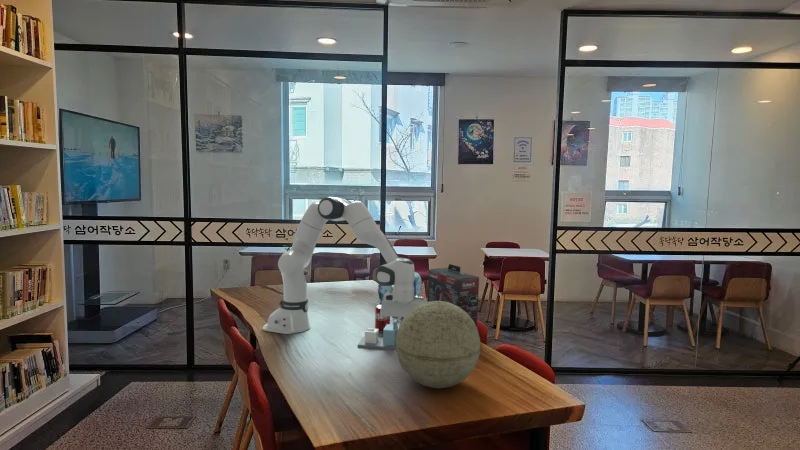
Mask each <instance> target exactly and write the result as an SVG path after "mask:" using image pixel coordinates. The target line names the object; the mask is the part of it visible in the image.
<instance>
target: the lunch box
mask: <svg viewBox="0 0 800 450" xmlns="http://www.w3.org/2000/svg"><path fill="white" fill-rule="evenodd" d="M421 277H422V276H421V275H420V274H419V273H418V272H415V280H414V296H417V297H423V296H422V291H423V290H422V289H423V288H422V287H423V286H422V278H421ZM377 287H378V288H377V295H378V299H379V302H380V303H381V304H382V302H383V300H384V299H383V297H384V294H385V293H387V292H390V291H392V287H393V286H381V285H379V284H378V286H377Z"/></svg>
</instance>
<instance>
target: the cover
mask: <svg viewBox="0 0 800 450" xmlns="http://www.w3.org/2000/svg"><path fill="white" fill-rule="evenodd" d="M398 329H399V325H398V319H397V318H396V319H394V321H393V323H392V324H391V323H390V324H387V325H386V326H385V328H384V330H383V333H382V338H383V345H393V346H394V345H395V340H396V336H397V332H398Z"/></svg>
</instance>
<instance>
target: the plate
mask: <svg viewBox="0 0 800 450" xmlns="http://www.w3.org/2000/svg"><path fill="white" fill-rule="evenodd" d="M357 348H363V349H372V350H373V349H374V350H375V349H376V350H386V351H387V350H388V351H395V350H396V340H395V345H394V346H393V345H383V337H379V336H378V341H377V343H376V344H375V343H365V335H364V336H363V337H362V338H361V339H360V341H359V342H358V343H357Z"/></svg>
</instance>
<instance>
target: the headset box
mask: <svg viewBox="0 0 800 450" xmlns="http://www.w3.org/2000/svg"><path fill="white" fill-rule="evenodd" d="M427 279H428V280H427V301H428V302H431V301H443V302H448V303H452V304H454V305H456V306H458V307H460V308H461V309H462V310H464V311H465V312H466V313H467V314H468V315H469V316H470V317H471V319H472V320H473V321H474V323H475V325H476V327H477V328H478V314H479V313H478V312H479V311H478V310H479V308H478V307H479V288H480V277H479V276H478V275H473V274H469V273H466V272H463V271H461V266H459V265H454V264H451V263H449V265H448V267H444V268H443V267H442V268H440V267H439V268H431V269H428V277H427Z"/></svg>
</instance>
